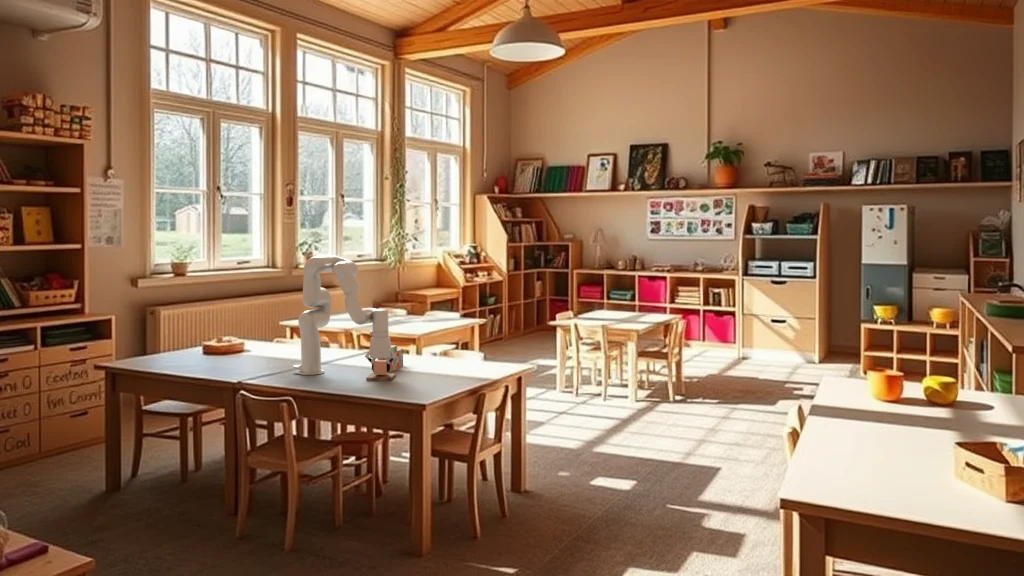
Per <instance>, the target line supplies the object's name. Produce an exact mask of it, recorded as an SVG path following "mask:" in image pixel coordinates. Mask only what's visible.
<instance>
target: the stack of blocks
mask: <svg viewBox="0 0 1024 576" xmlns="http://www.w3.org/2000/svg"><path fill="white" fill-rule="evenodd" d="M391 349H392V351H393V352H394V353H395V354H396V355H397V357H396V358H395V359H394V360H393V361H392V362H391V363H390V370H389V372H388V373H393V372H394V371H396V370H398V369H400V368H401V367H403V366H404V353H403V352H404V351H403V347H402V348H399V347H398V345H395V344H391ZM392 357H393V356H392V355H391V357H390V359H391V358H392ZM377 360H386V359H377Z"/></svg>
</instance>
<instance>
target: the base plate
mask: <svg viewBox="0 0 1024 576" xmlns="http://www.w3.org/2000/svg"><path fill="white" fill-rule="evenodd" d="M396 376H397V374H396V372H390V373H387V374H386V375H374V372H371V373H370V374H369V375H368V376H367V377H365V379H366V382H392V381H393V380H394V379H395V378H396Z"/></svg>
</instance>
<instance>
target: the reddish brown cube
mask: <svg viewBox="0 0 1024 576" xmlns="http://www.w3.org/2000/svg"><path fill="white" fill-rule="evenodd" d="M373 363H374V372H373V373H374V375H386V374H387V373H388V372H387V361H386V360H378V359H377V360H376V359H375V361H374V362H373Z"/></svg>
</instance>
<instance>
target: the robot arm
mask: <svg viewBox="0 0 1024 576" xmlns="http://www.w3.org/2000/svg"><path fill="white" fill-rule="evenodd" d="M323 273H325V274H326V273H332V274H333V275H334V278H335V279H336V281H337V284H338V285H339V287H340V289H341V290H342V292H343V294H344V304H345V309H346V311H347V314H348V316H349V317H350V319H351V320H352V321H353V323H355V324H356V325H359V326H361V325H362V326H363V325H367V324H372V330H371V331H369V336H372V337H370V343H369V351H368V352H367V353H366V354H365V355H364V358H366V360H368V362H369V363H370V364H371V370H372V373H374V363H373V362H374V361H376V359H377V360H378V359H386V361H387V372H389V370H390V363H391V362H392V361H393V360H394V359H395V358H396V357H397V355H396V354H395V353H394V352H393V351H392V349H391V345H392V343H391V337H390V336H389V311H388V310H387V309H386V308H374V307H363V308H362V306H361V305H360V303H359V301H358V293H359V291H360V290H361V285H360V283H359V282H358V280H357V278H356V276H357V275H359V274H358V273H359V268H358V265H357V264H356V263H355V262H353V261H352V260H350V259H347V258H343V257H341V256H338V255H334V254H332V255H331V254H327V255H323V254H322V255H315V256H312V257H310V258H309V259H307V260H306V261H305V263H304V265H303V283H302V284H303V285H302V304H303V306H304V307H306V308H311V309H308V310H305V311H303V312H301V313H300V315H299V316H298V321H297V322H298V323H297V324H298V326H299V332H300V333H299V334H300V354H301V355H300V358H301V359H300V360H301V363H300V364H299V365H298V364H293V367H292V369H294V370H298V374H299V375H302V376H314V375H315V376H316V375H321V374H322V375H323V374H324V373H325V370H324V369H322V360H321V359H322V355H321V354H322V353H321V349H322V348H321V345H322V344H321V335H320V331H319V329H320V328H324V327H326V326H327V325H328V324H329V323H330V318H331V303H332V297H331V296H332V295H331V294H330V292H329V290H328V289H326V288H325V287H322V279H321V276H320V274H323ZM312 308H313V309H312ZM391 355H392V356H393V357H392V358H391V359H390V357H391Z"/></svg>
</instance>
